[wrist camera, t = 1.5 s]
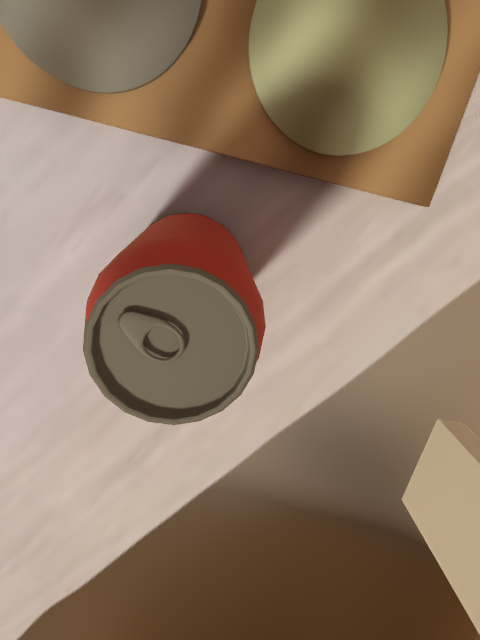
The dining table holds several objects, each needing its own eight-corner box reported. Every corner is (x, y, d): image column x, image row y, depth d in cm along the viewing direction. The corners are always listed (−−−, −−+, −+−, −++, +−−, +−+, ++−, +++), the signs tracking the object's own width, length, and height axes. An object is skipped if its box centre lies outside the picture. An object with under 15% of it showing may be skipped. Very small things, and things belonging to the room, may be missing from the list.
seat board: (-59, 81, 20) (-80, 74, 19) (-57, -246, 17) (-83, -288, 15) (420, 205, 24) (434, 207, 23) (509, -40, 20) (533, -57, 19)
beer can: (174, 187, 23) (141, 200, 12) (266, 258, 25) (316, 330, 13) (109, 280, 24) (25, 373, 13) (201, 341, 26) (195, 470, 15)
